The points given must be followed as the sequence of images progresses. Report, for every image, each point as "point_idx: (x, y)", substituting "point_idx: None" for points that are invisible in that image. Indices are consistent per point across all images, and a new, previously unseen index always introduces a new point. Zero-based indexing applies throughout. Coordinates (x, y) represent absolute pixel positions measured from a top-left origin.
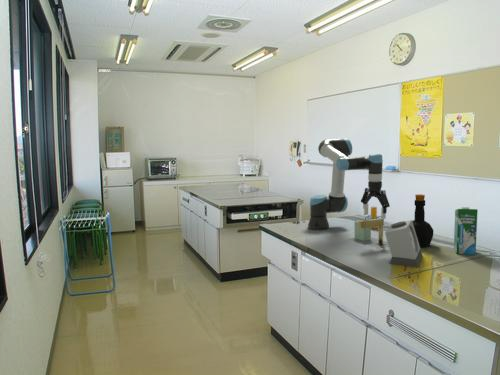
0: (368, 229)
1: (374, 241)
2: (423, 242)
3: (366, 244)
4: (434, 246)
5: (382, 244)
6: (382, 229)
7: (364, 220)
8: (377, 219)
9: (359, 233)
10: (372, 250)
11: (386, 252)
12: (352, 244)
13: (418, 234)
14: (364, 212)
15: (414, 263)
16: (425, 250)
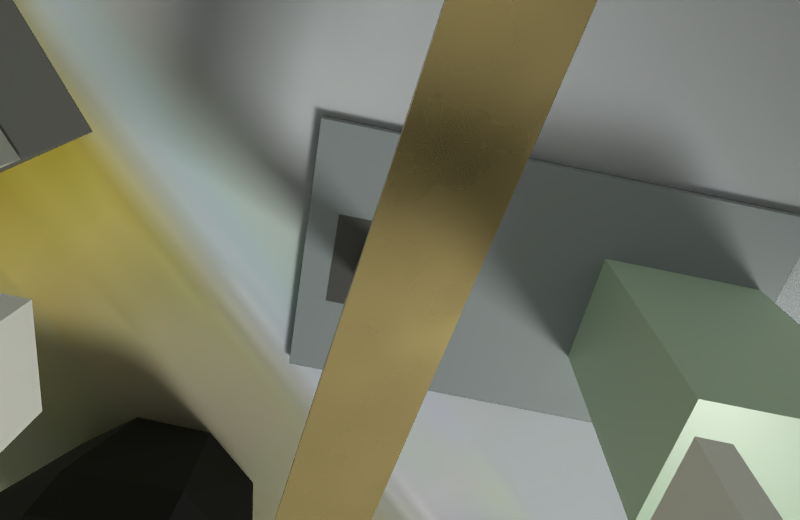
0: (616, 409)
1: (495, 321)
2: (41, 468)
3: None
4: None
5: None
6: (322, 371)
7: (503, 111)
8: (324, 424)
9: (709, 312)
10: (315, 9)
11: (159, 62)
12: (663, 61)
13: (5, 509)
14: (748, 504)
15: None
16: None
